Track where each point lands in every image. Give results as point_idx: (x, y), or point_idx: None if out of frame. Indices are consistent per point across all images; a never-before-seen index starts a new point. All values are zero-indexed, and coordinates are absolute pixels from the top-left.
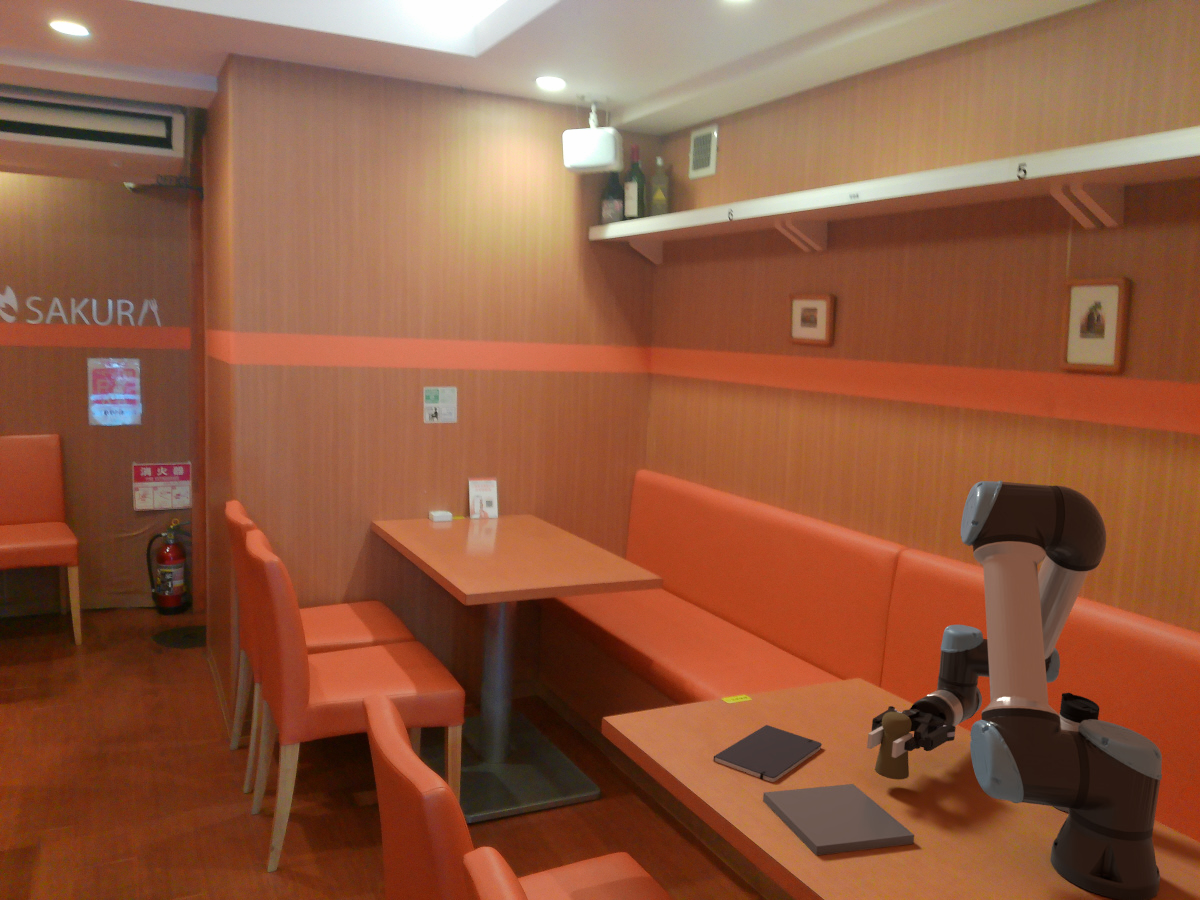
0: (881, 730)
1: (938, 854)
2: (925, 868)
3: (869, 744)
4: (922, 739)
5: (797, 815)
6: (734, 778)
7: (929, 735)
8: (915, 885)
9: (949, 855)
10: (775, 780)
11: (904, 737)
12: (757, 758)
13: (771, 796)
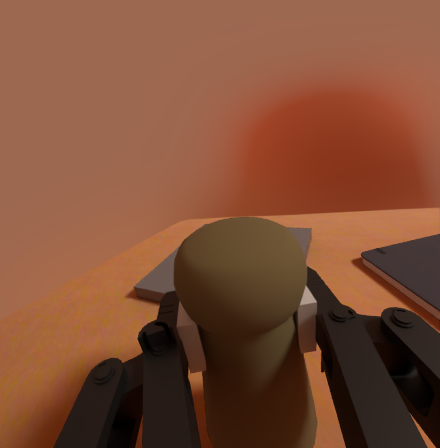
0: None
1: (103, 302)
2: (116, 276)
3: None
4: (135, 359)
5: None
6: (381, 237)
7: (98, 401)
8: (121, 256)
9: (88, 311)
10: (364, 263)
11: None
12: None
13: (299, 229)
